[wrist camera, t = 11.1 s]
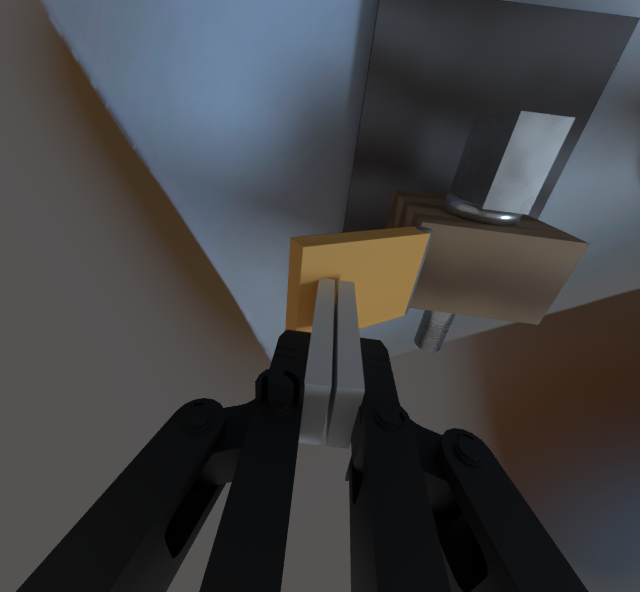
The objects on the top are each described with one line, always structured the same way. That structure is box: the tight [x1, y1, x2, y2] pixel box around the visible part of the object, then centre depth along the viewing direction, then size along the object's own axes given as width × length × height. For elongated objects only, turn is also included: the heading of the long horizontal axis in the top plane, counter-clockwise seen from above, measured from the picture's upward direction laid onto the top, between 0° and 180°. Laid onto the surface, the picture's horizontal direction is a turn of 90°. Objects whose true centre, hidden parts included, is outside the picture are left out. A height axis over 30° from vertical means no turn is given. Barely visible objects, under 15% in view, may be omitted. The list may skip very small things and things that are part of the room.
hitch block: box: [343, 0, 640, 324], centre depth 21 cm, size 24×18×12 cm
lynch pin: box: [414, 111, 575, 352], centre depth 22 cm, size 18×5×6 cm, turn 174°
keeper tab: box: [285, 226, 434, 332], centre depth 16 cm, size 6×9×1 cm
